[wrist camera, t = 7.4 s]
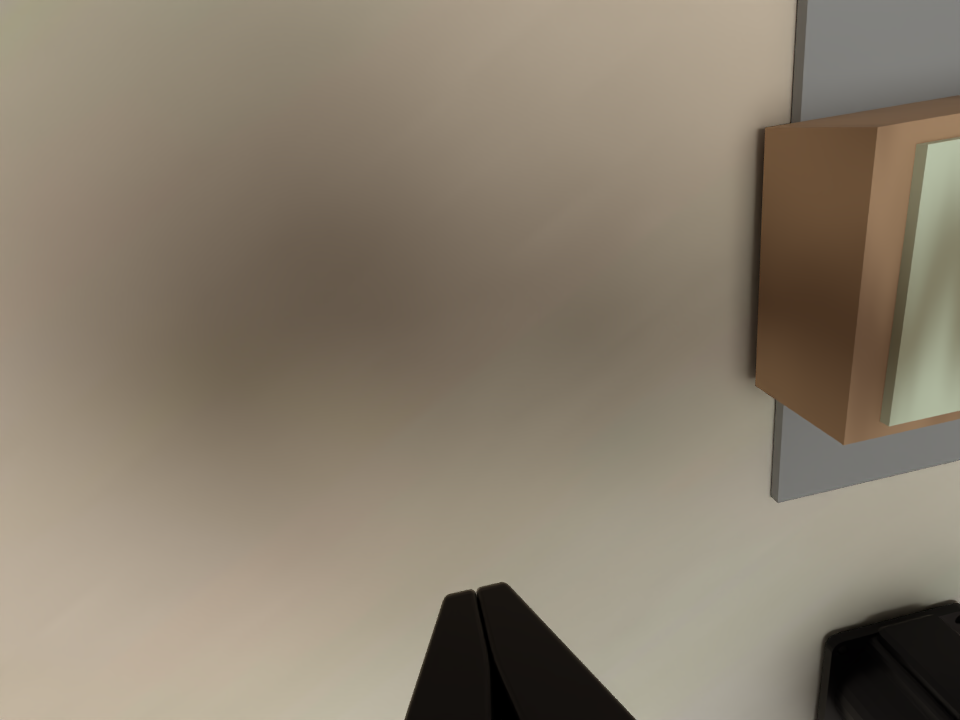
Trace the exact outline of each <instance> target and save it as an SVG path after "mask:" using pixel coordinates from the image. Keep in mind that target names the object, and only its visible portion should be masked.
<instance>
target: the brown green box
mask: <svg viewBox="0 0 960 720" xmlns="http://www.w3.org/2000/svg"><path fill="white" fill-rule="evenodd" d="M755 386H757V387H758V388H760V389H761V390H763V391H764V392H765V393H767V394H768V395H770V396H771V397H773V398H774V399H776V400H777V401H779V402H780V403H782V404H783V405H785V406H786V407H788V408H789V409H791V410H792V411H794V412H795V413H797V414H798V415H800V416H801V417H802V418H804V419H805V420H807V421H808V422H810V423H811V424H813V425H814V426H816V427H817V428H819V429H820V430H822V431H823V432H825V433H826V434H828V435H829V436H831V437H832V438H834V439H835V440H837V441H838V442H840V443H841V444H842V445H847V444H852V443H856V442H860V441H865V440H869V439H874V438H878V437H882V436H887V435H891V434H896V433H900V432H904V431H909V430H913V429H918V428H922V427H926V426H931V425H935V424H940V423H944V422H948V421H953V420H957V419H960V95H957V96H951V97H945V98H939V99H933V100H927V101H921V102H915V103H909V104H903V105H897V106H891V107H885V108H879V109H873V110H867V111H861V112H856V113H850V114H844V115H838V116H832V117H826V118H820V119H814V120H808V121H802V122H796V123H790V124H784V125H778V126H772V127H766V128H765V147H764V173H763V198H762V224H761V250H760V276H759V302H758V328H757V354H756V380H755Z"/></svg>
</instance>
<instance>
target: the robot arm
mask: <svg viewBox="0 0 960 720" xmlns="http://www.w3.org/2000/svg"><path fill="white" fill-rule="evenodd" d="M404 720H636V719H635V718H634V717H633V716H632V715H631V714H630V713H629V712H628V711H627V710H626V708H625V707H624V706H623V705H622V704H621V703H620V702H619V701H618V700H617V699H616V698H615V697H614V696H613V695H612V694H611V693H610V692H609V690H608V689H607V688H606V687H605V686H604V685H603V684H602V683H601V682H600V681H599V680H598V679H597V678H596V677H595V676H594V675H593V674H592V673H591V671H590V670H589V669H588V668H587V667H586V666H585V665H584V664H583V663H582V662H581V661H580V660H579V659H578V658H577V657H576V656H575V655H574V654H573V652H572V651H571V650H570V649H569V648H568V647H567V646H566V645H565V644H564V643H563V642H562V641H561V640H560V639H559V638H558V637H557V636H556V634H555V633H554V632H553V631H552V630H551V629H550V628H549V627H548V626H547V625H546V624H545V623H544V622H543V621H542V620H541V619H540V618H539V617H538V615H537V614H536V613H535V612H534V611H533V610H532V609H531V608H530V607H529V606H528V605H527V604H526V603H525V602H524V601H523V600H522V599H521V597H520V596H519V595H518V594H517V593H516V592H515V591H514V590H513V589H512V588H511V587H510V586H509V585H508V584H507V583H504V582H500V583H496V584H491V585H487V586H482V587H479V588H478V589H477V595H476V592H475V591H474V590H472V589H470V590H465V591H461V592H456V593H452V594H448V595H447V596H446V597H445V598H444V600H443V602H442V605H441V609H440V612H439V615H438V618H437V621H436V624H435V627H434V630H433V633H432V636H431V639H430V642H429V646H428V649H427V652H426V655H425V658H424V661H423V664H422V667H421V670H420V673H419V676H418V679H417V682H416V686H415V689H414V692H413V695H412V698H411V701H410V704H409V707H408V710H407V713H406V716H405V719H404ZM817 720H960V604H959V603H953V604H950V605H946V606H942V607H938V608H934V609H930V610H927V611H923V612H919V613H915V614H911V615H907V616H904V617H900V618H896V619H892V620H888V621H884V622H881V623H877V624H873V625H869V626H865V627H861V628H858V629H854V630H850V631H846V632H842V633H838V634H836V635H833V636H832V637H830V638H829V639H828V640H827V642H826V645H825V652H824V661H823V670H822V679H821V689H820V698H819V707H818V716H817Z"/></svg>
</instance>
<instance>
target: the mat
mask: <svg viewBox="0 0 960 720" xmlns="http://www.w3.org/2000/svg"><path fill="white" fill-rule="evenodd" d="M957 95H960V0H798V8H797V26H796V45H795V63H794V81H793V100H792V118H791V123H796V122H802V121H808V120H814V119H820V118H826V117H832V116H838V115H844V114H850V113H856V112H861V111H867V110H873V109H879V108H885V107H891V106H897V105H903V104H909V103H915V102H921V101H927V100H933V99H939V98H945V97H951V96H957ZM958 460H960V419H957V420H953V421H948V422H944V423H940V424H935V425H931V426H926V427H922V428H918V429H913V430H909V431H904V432H900V433H896V434H891V435H887V436H882V437H878V438H874V439H869V440H865V441H860V442H856V443H852V444H847V445H842V444H841V443H840V442H838V441H837V440H835V439H834V438H832V437H831V436H829V435H828V434H826V433H825V432H823V431H822V430H820V429H819V428H817V427H816V426H814V425H813V424H811V423H810V422H808V421H807V420H805V419H804V418H802V417H801V416H800V415H798V414H797V413H795V412H794V411H792V410H791V409H789V408H788V407H786V406H785V405H783V404H782V403H780V402H779V401H777V400H776V413H775V431H774V450H773V468H772V487H771V497H772V498H773V499H774V500H775V501H776V502H777V503H780V502H784V501H788V500H792V499H797V498H801V497H805V496H809V495H814V494H818V493H822V492H826V491H831V490H835V489H839V488H844V487H848V486H852V485H856V484H861V483H865V482H869V481H873V480H878V479H882V478H886V477H890V476H895V475H899V474H903V473H907V472H912V471H916V470H920V469H924V468H929V467H933V466H937V465H941V464H946V463H950V462H954V461H958Z"/></svg>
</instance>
